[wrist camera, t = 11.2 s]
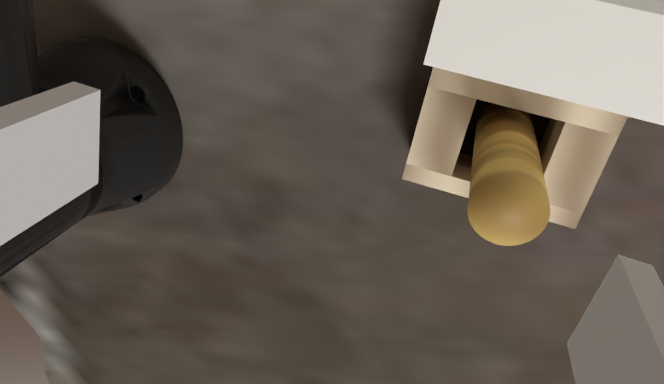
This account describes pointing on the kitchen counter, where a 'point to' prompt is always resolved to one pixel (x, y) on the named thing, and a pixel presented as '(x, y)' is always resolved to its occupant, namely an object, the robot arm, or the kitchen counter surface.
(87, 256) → the kitchen counter surface
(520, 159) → the peg
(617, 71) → the awning
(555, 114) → the socket block
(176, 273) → the kitchen counter surface
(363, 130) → the kitchen counter surface
